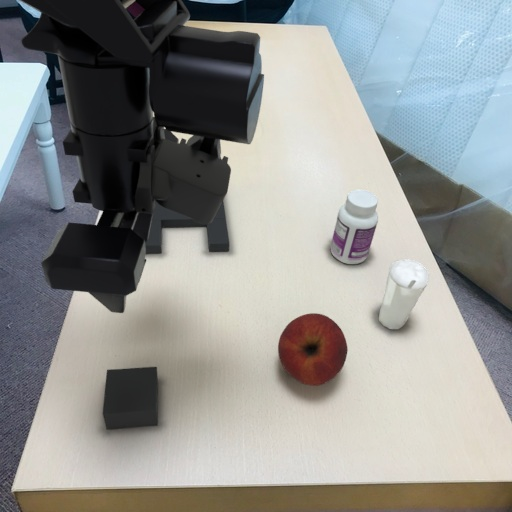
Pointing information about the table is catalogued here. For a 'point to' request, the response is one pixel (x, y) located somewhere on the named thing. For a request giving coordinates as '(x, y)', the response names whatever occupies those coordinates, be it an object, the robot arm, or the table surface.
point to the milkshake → (402, 292)
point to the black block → (131, 398)
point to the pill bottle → (355, 227)
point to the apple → (312, 349)
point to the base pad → (169, 218)
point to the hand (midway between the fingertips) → (130, 273)
